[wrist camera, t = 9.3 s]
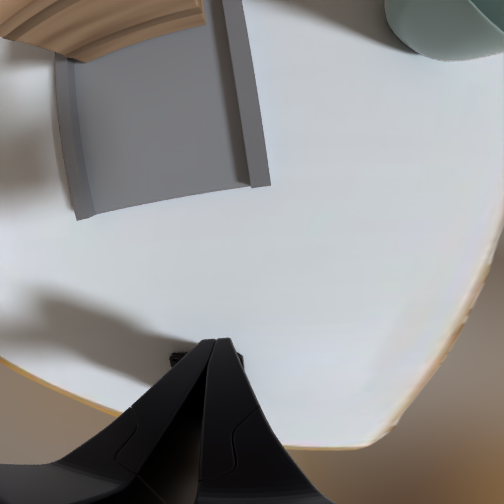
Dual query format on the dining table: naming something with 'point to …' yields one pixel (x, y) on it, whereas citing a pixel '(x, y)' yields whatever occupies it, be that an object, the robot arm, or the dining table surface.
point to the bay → (163, 117)
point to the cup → (448, 27)
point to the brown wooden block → (95, 23)
